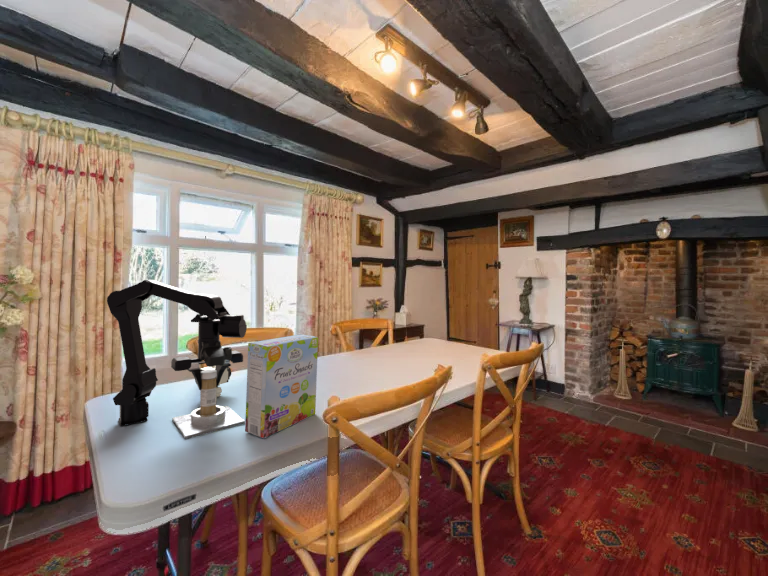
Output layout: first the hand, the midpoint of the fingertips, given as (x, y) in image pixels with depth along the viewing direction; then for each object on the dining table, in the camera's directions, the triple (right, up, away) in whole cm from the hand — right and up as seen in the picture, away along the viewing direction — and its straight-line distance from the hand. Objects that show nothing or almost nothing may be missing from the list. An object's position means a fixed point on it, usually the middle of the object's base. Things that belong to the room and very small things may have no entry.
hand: (208, 388), depth 105 cm
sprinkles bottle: (0, -8, 0) cm, 8 cm away
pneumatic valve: (-9, -10, +22) cm, 26 cm away
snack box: (+23, -11, +1) cm, 25 cm away
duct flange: (0, -10, 0) cm, 10 cm away
